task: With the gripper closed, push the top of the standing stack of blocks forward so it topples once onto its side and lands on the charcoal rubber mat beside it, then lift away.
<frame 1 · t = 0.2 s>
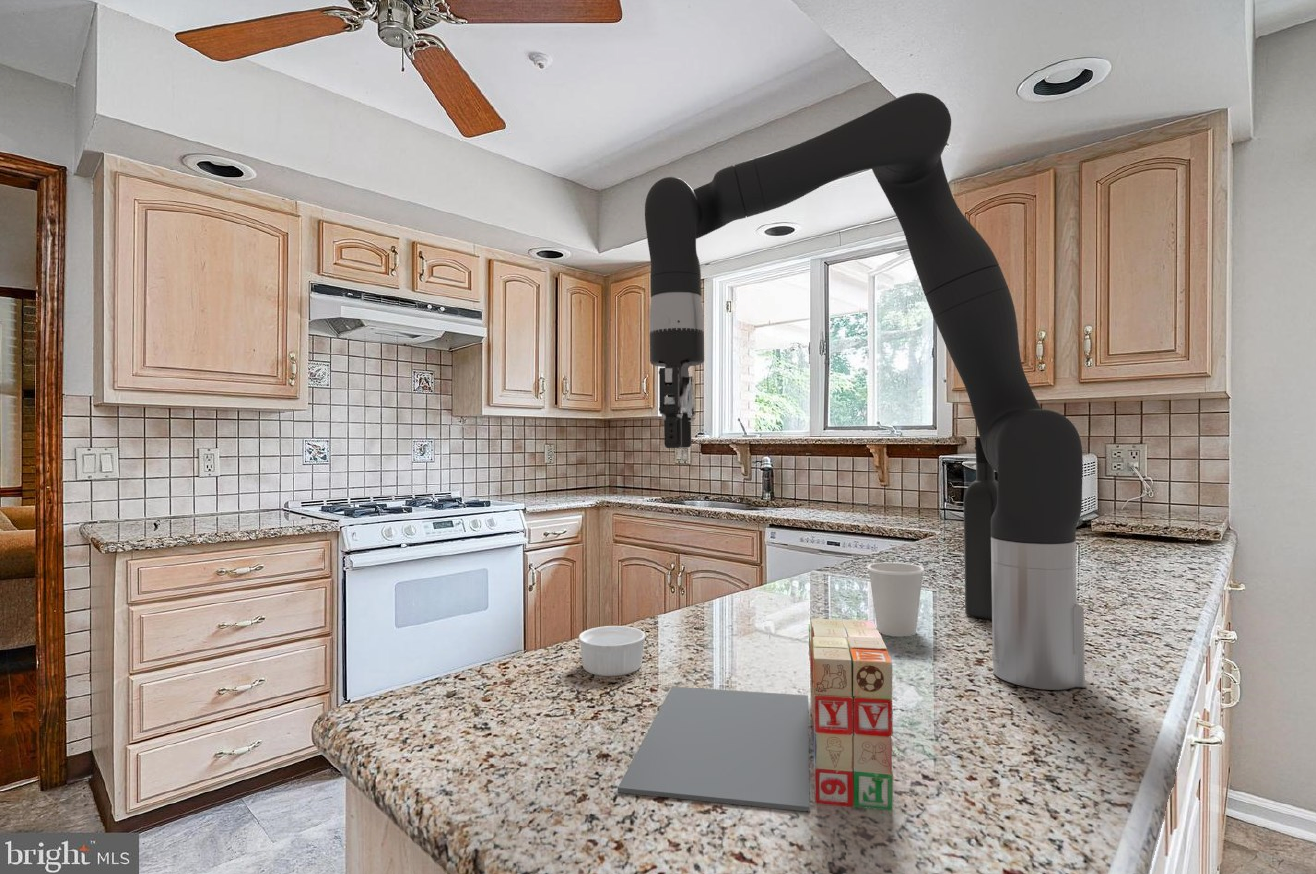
hand: (678, 447, 92), 29 cm above the countertop, fingers open, 8 cm apart
dixie cup: (896, 633, 104), on the countertop
wine bottle: (987, 617, 112), on the countertop
stack of blocks: (845, 752, 65), on the countertop
ramekin: (612, 668, 90), on the countertop
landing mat: (727, 738, 67), on the countertop
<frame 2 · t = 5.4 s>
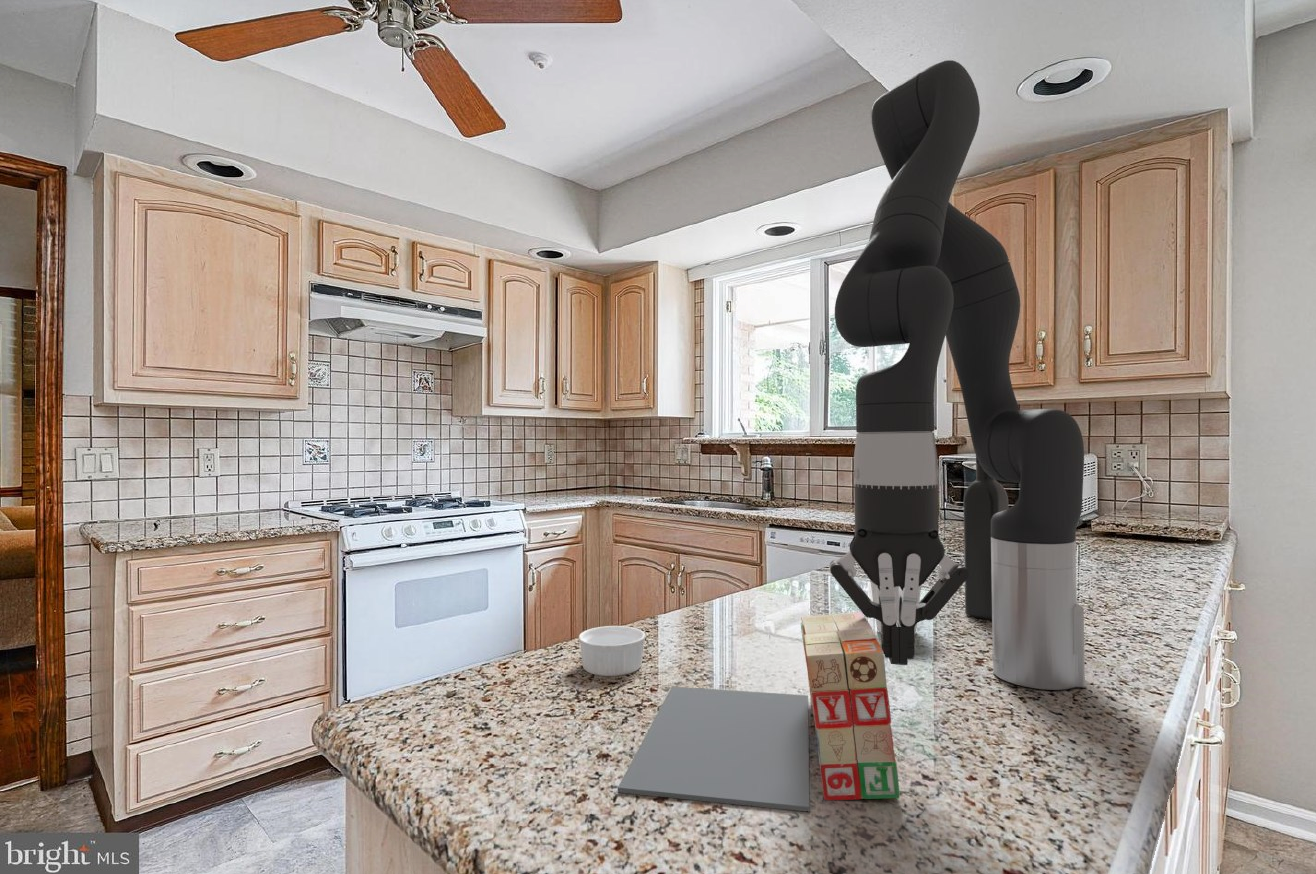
hand: (897, 662, 64), 9 cm above the countertop, fingers closed
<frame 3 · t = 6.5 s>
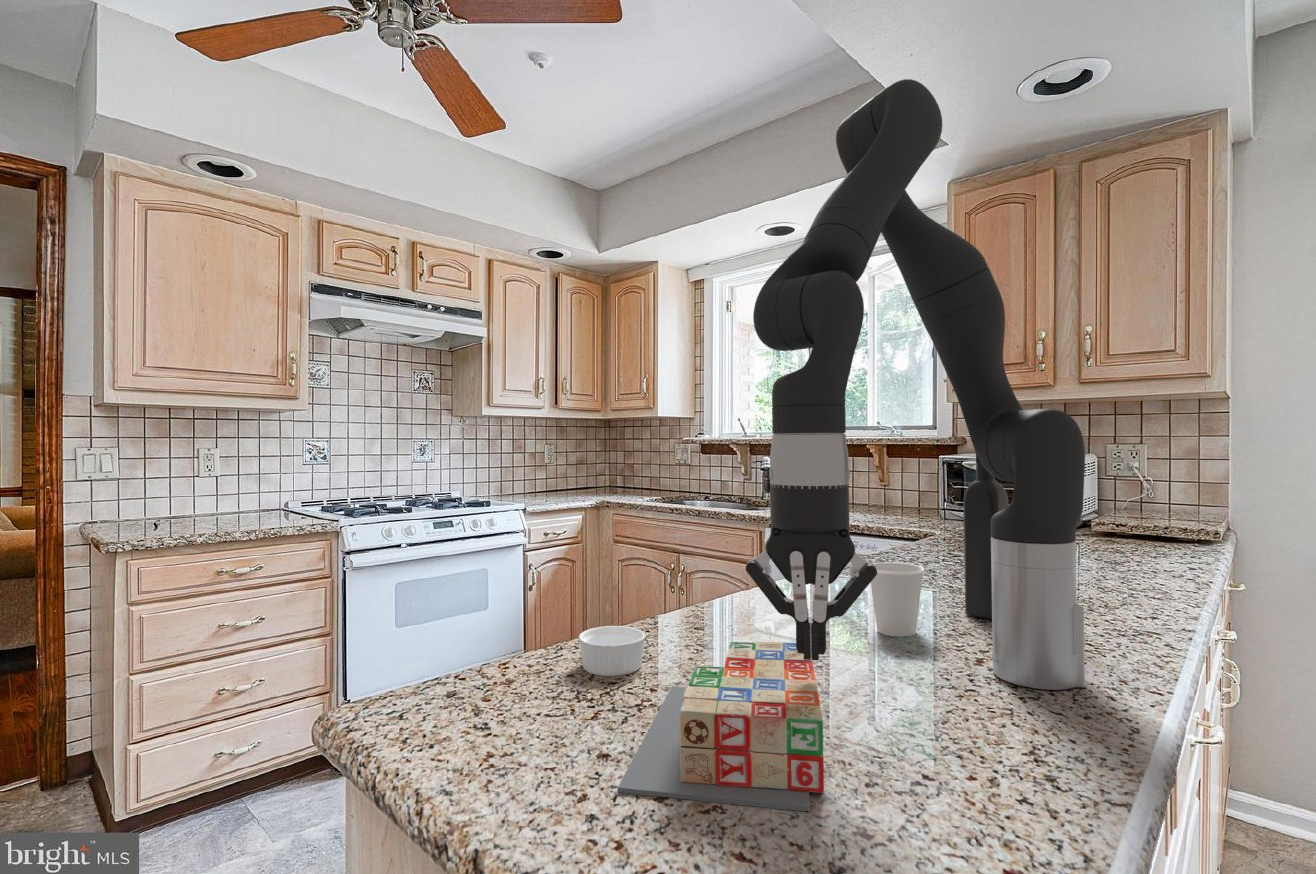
hand: (810, 657, 66), 9 cm above the countertop, fingers closed
stack of blocks: (818, 706, 66), point 4 cm above the countertop, touching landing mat
everything else where it was.
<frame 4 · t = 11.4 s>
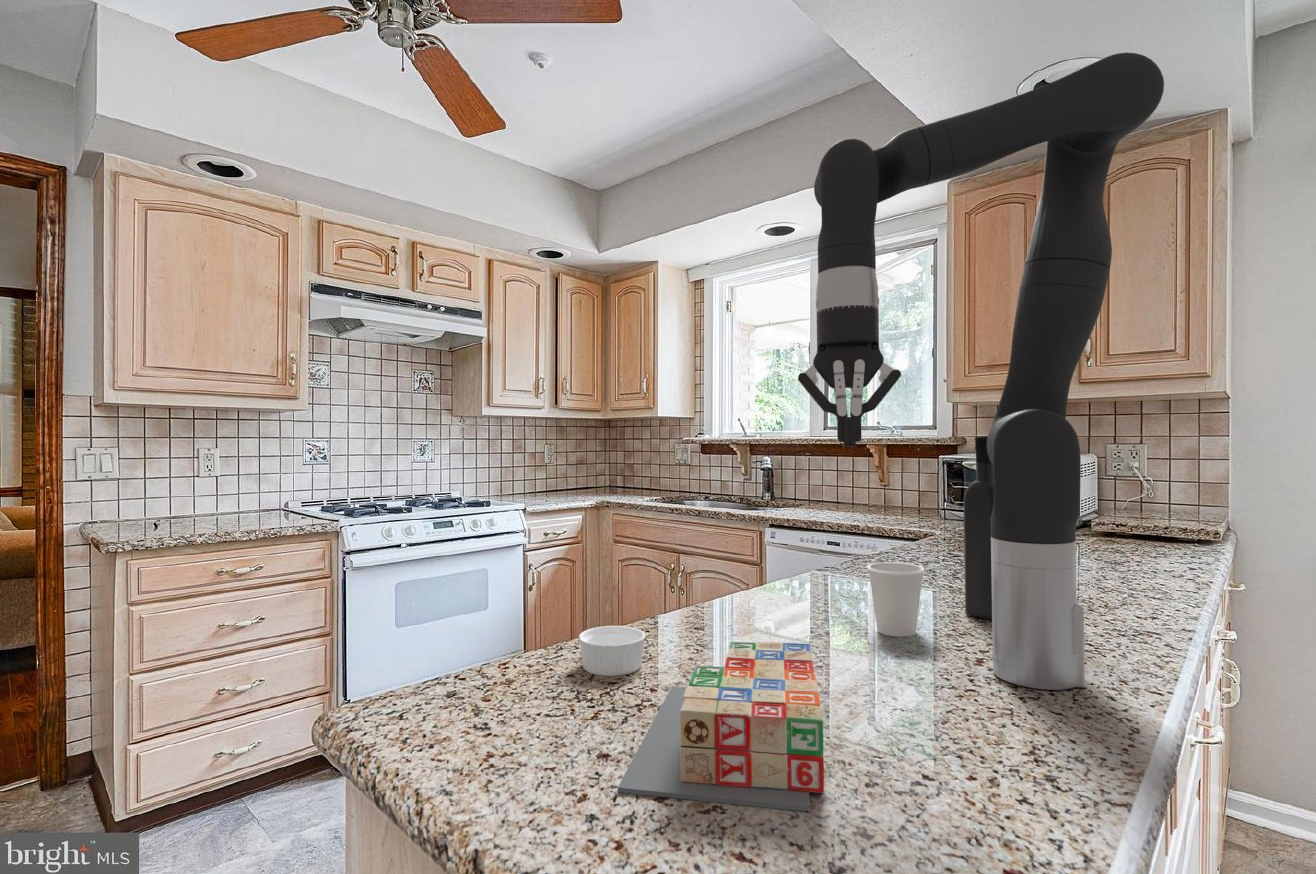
hand: (849, 446, 84), 29 cm above the countertop, fingers closed
nothing on the countertop moved.
at the end: stack of blocks tilted 90°; stack of blocks touching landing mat; stack of blocks inside the target area (4.6 cm from its centre), point 3.5 cm above the countertop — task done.
